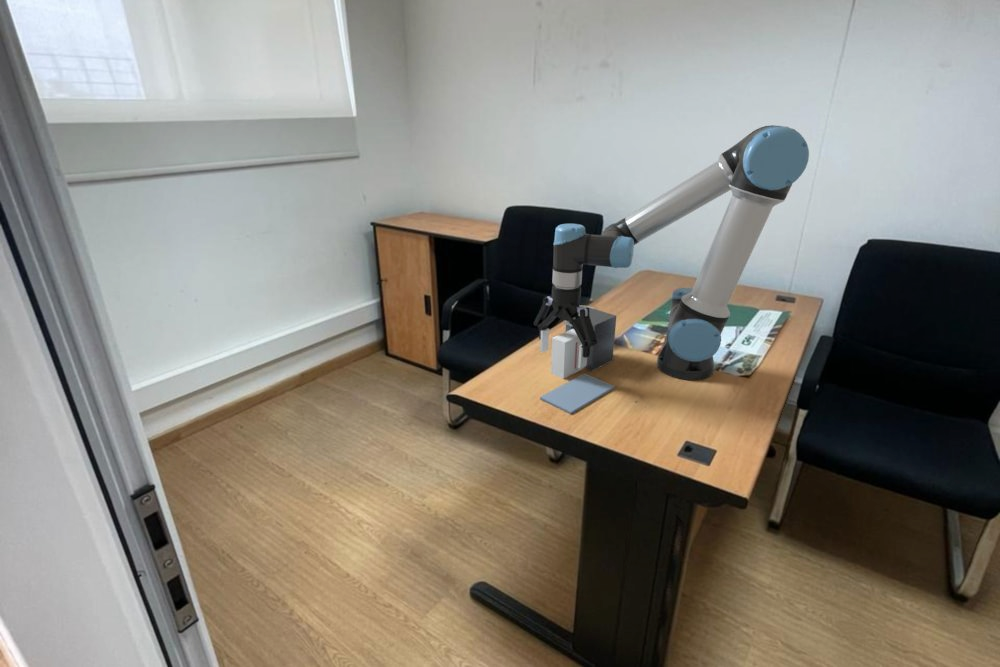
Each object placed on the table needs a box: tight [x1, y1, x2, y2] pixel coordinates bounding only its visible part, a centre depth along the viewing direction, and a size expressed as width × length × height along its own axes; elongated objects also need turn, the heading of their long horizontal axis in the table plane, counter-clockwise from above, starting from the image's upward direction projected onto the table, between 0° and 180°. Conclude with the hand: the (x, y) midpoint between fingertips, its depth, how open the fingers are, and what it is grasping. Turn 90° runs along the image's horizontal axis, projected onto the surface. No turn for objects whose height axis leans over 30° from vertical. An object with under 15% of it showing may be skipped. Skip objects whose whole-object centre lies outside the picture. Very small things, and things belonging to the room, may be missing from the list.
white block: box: [550, 329, 586, 380], centre depth 142 cm, size 4×16×11 cm, turn 133°
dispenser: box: [564, 307, 617, 372], centre depth 145 cm, size 10×10×14 cm
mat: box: [539, 373, 615, 415], centre depth 130 cm, size 10×18×1 cm, turn 133°
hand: (562, 358), depth 139 cm, fingers open, 13 cm apart
